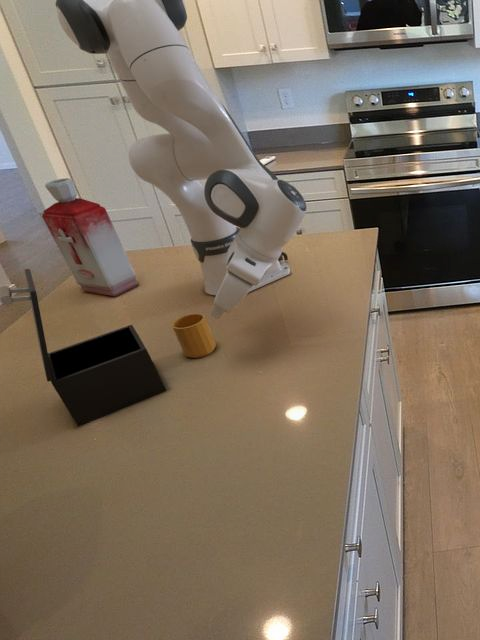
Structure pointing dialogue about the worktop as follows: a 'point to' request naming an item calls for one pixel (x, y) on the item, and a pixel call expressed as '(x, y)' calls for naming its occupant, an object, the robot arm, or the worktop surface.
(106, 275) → the bottle
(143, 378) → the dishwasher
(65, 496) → the worktop surface
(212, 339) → the golden yellow cup
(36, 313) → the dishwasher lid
